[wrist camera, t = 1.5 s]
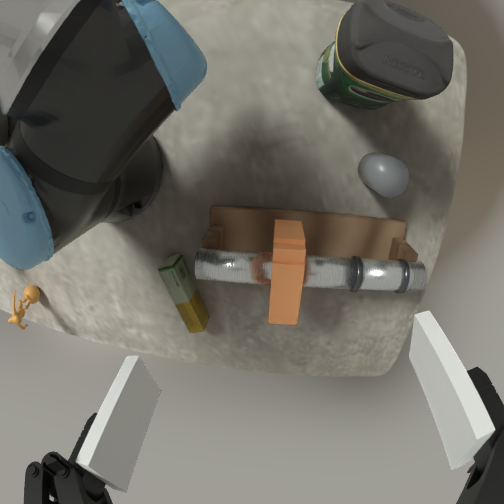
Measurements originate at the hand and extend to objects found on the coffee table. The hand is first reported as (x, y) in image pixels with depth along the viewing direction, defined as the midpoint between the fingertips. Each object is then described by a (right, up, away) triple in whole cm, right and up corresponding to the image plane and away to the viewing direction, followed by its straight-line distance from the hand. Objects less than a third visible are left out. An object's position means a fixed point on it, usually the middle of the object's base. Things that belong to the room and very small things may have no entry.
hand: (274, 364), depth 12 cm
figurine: (-46, -3, +37) cm, 59 cm away
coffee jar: (+12, +27, +18) cm, 35 cm away
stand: (+7, +6, +27) cm, 29 cm away
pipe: (+6, +4, +22) cm, 23 cm away
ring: (+3, +5, +24) cm, 25 cm away
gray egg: (+15, +16, +22) cm, 31 cm away
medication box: (-11, -1, +33) cm, 34 cm away
